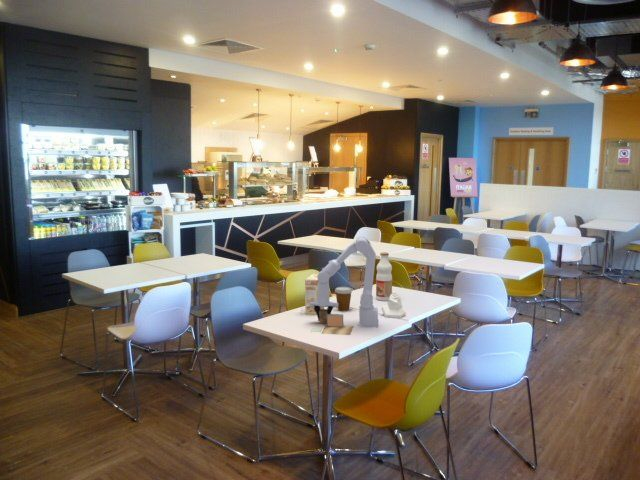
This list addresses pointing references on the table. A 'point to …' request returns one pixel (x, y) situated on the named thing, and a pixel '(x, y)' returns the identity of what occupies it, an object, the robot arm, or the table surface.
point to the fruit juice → (384, 278)
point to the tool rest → (316, 330)
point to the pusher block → (323, 316)
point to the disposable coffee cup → (343, 298)
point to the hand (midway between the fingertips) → (323, 320)
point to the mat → (338, 330)
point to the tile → (334, 320)
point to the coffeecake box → (311, 293)
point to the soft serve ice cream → (393, 307)
